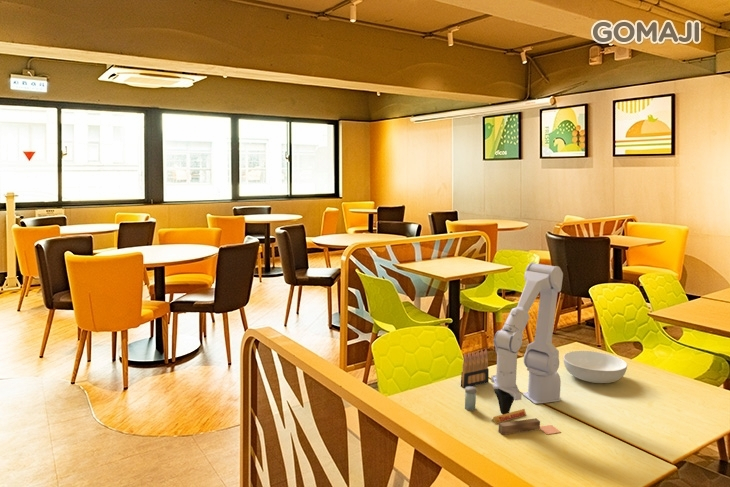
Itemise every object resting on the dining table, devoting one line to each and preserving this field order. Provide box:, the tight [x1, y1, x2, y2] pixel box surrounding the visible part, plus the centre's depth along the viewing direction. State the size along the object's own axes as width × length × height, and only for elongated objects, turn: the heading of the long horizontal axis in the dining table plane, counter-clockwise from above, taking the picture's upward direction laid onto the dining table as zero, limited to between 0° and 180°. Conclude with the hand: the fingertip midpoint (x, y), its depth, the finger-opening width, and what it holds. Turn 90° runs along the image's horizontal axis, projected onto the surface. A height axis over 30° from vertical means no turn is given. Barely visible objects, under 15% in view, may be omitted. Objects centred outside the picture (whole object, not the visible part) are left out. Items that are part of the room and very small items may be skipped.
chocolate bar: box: [491, 408, 527, 425], centre depth 169 cm, size 3×12×2 cm, turn 118°
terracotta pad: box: [540, 424, 562, 436], centre depth 162 cm, size 4×4×1 cm
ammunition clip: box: [460, 348, 490, 389], centre depth 194 cm, size 11×2×12 cm, turn 118°
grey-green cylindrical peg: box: [464, 386, 477, 412], centre depth 175 cm, size 3×3×6 cm
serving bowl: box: [562, 350, 628, 384], centre depth 200 cm, size 21×21×7 cm
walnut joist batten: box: [497, 417, 541, 436], centre depth 161 cm, size 12×2×2 cm, turn 105°
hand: (504, 413), depth 170 cm, fingers closed
